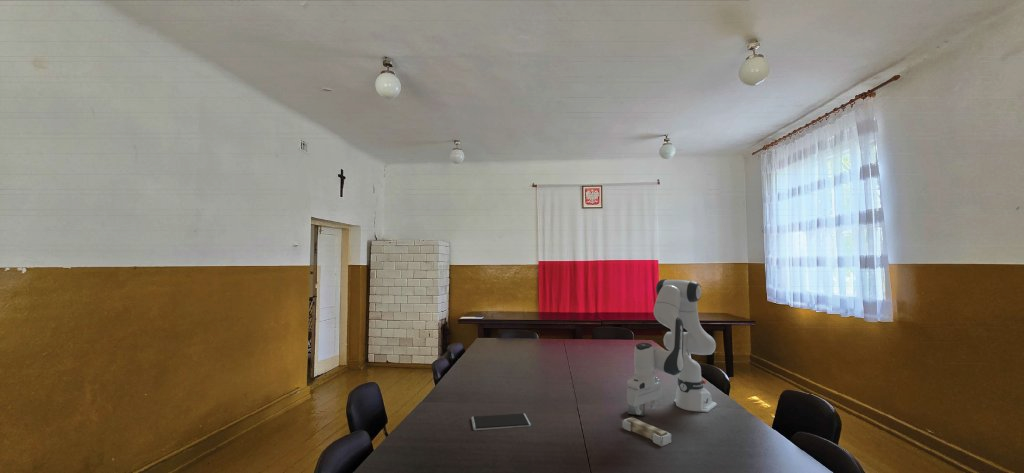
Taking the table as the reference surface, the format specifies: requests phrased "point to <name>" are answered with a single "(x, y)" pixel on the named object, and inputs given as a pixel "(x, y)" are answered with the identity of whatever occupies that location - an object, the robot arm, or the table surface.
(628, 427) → the cap
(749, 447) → the table surface
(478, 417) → the smartphone
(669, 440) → the cap
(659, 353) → the robot arm
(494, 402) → the table surface
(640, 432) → the tan wooden beam
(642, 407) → the ceramic mug
